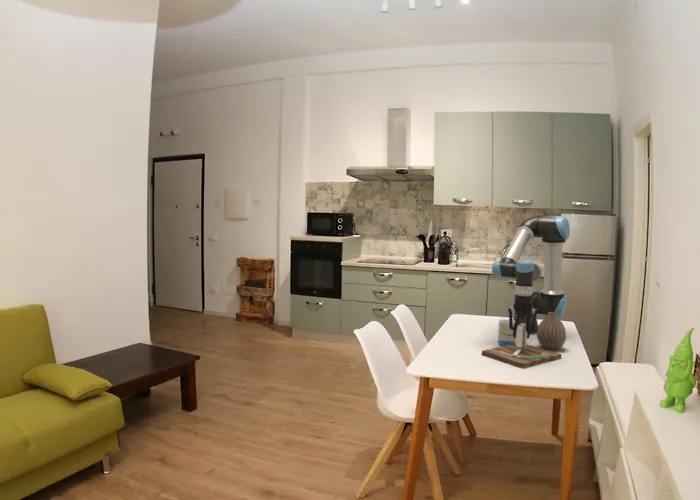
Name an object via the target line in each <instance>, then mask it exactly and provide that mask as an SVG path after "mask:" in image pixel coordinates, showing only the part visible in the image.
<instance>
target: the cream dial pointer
mask: <svg viewBox="0 0 700 500" xmlns="http://www.w3.org/2000/svg"><path fill="white" fill-rule="evenodd" d="M525 331H526V324H524V323H521V324H520V325H519V326H518V330H517V347H518V349H517V350H516V351H515V353H514V354H513V356H517V355H518V354H519V353H520V352H521V351H522V350H523V345H524V332H525Z"/></svg>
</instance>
